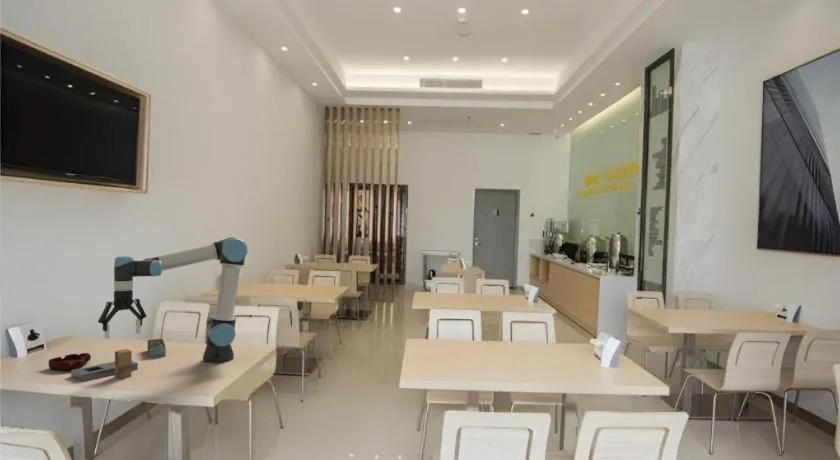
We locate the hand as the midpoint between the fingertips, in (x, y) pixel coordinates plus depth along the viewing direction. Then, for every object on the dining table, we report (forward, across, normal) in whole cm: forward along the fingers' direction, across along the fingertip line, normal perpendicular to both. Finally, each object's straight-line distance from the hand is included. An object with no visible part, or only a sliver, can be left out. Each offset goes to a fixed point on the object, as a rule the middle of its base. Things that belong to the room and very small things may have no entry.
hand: (122, 335), depth 232 cm
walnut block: (+19, 0, 0) cm, 19 cm away
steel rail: (+19, +2, -13) cm, 23 cm away
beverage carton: (+20, -32, -30) cm, 47 cm away
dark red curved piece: (+20, +8, -37) cm, 43 cm away
